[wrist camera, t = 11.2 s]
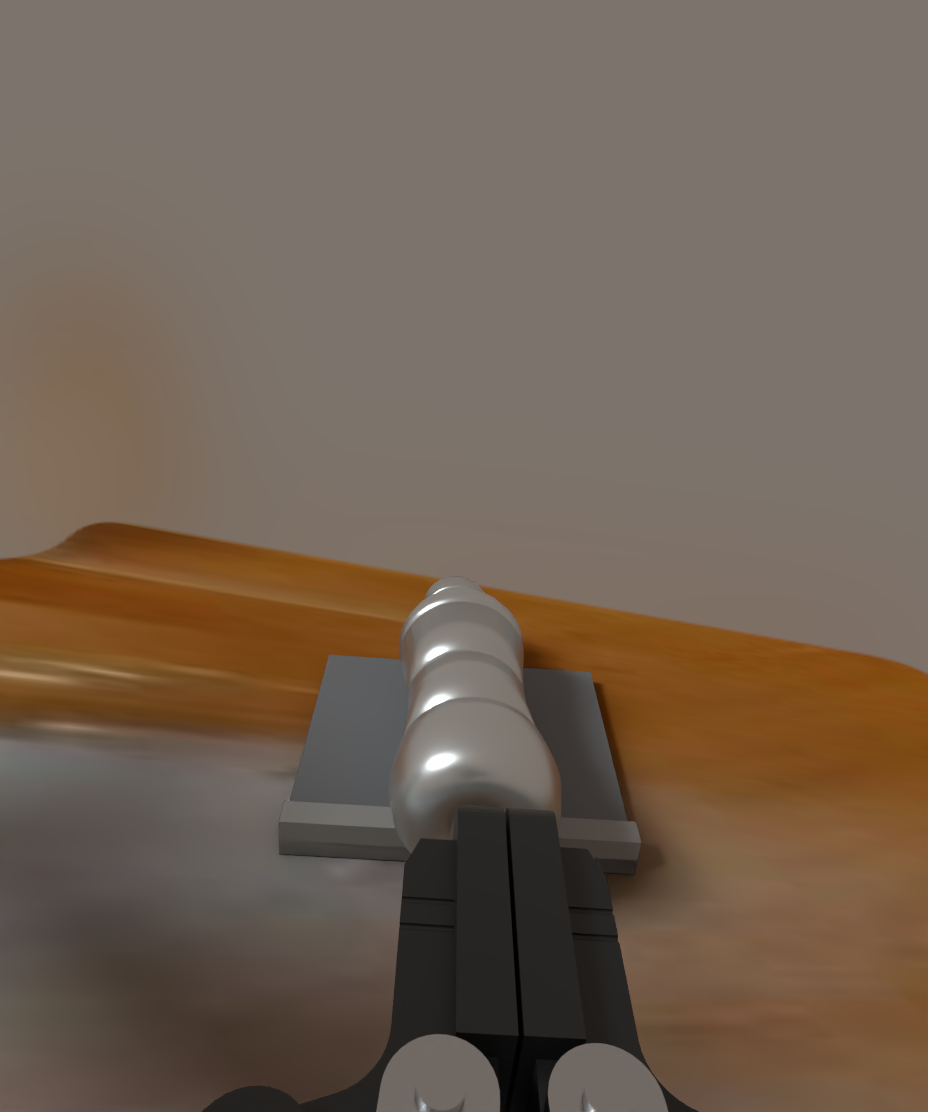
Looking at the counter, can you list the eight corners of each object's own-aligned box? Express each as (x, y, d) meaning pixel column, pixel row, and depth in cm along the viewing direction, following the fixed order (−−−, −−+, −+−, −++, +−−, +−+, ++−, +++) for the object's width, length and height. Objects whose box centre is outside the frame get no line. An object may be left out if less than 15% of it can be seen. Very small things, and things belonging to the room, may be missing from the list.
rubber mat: (279, 853, 34) (278, 821, 33) (329, 666, 47) (329, 639, 46) (634, 874, 35) (641, 842, 34) (588, 683, 47) (593, 657, 46)
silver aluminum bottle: (357, 875, 29) (379, 628, 48) (525, 929, 30) (483, 668, 49) (431, 733, 27) (424, 534, 46) (607, 798, 29) (531, 578, 47)
